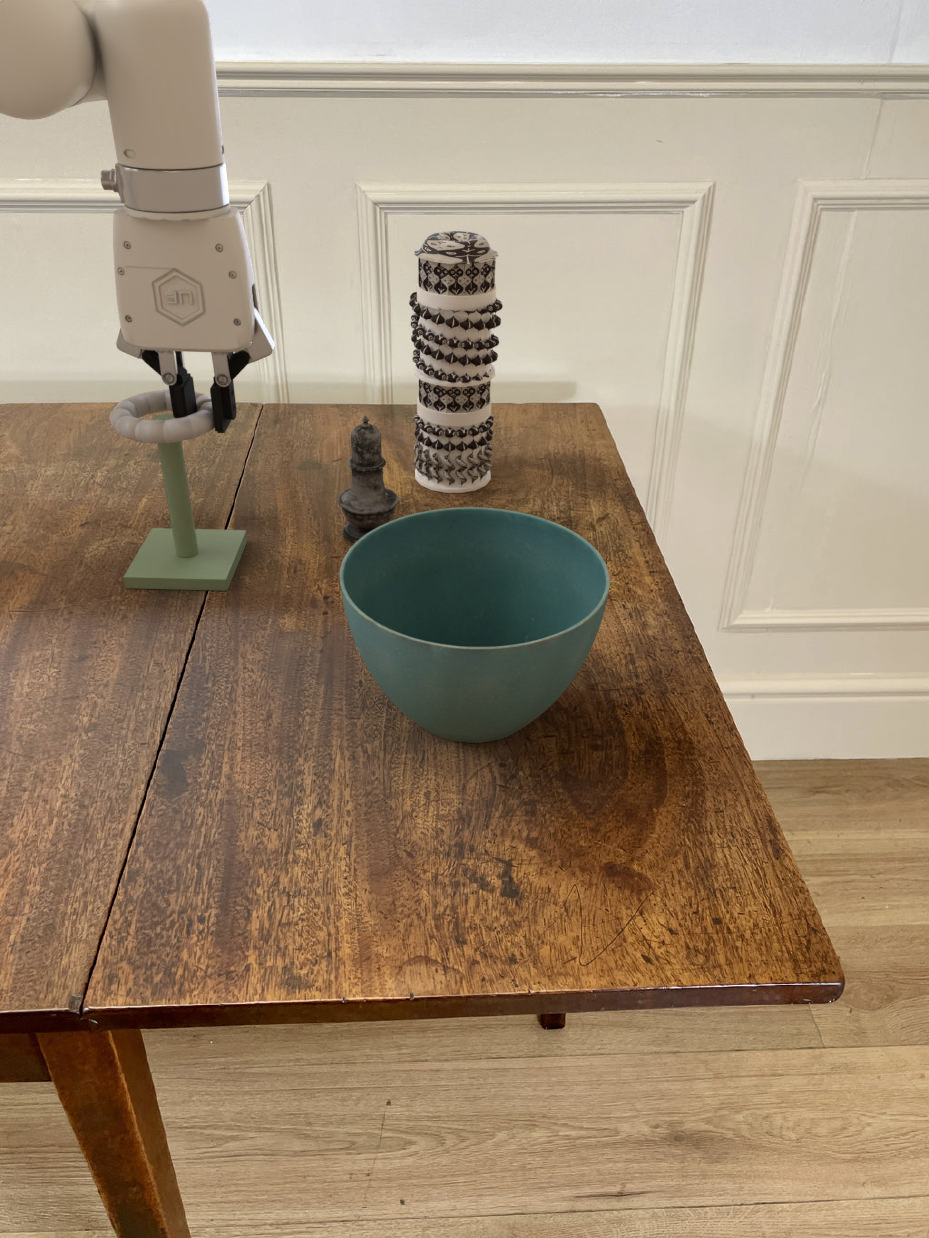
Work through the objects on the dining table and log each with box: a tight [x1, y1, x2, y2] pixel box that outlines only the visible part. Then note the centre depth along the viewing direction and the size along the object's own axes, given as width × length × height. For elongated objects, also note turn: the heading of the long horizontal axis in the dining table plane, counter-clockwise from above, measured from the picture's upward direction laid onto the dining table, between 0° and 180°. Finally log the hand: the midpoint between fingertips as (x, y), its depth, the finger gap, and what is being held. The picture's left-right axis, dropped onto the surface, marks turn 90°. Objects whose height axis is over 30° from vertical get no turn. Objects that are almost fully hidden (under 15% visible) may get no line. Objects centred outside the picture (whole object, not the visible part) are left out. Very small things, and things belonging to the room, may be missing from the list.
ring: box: [109, 388, 215, 444], centre depth 79 cm, size 9×9×2 cm
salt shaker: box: [337, 415, 399, 544], centre depth 89 cm, size 6×6×12 cm
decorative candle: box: [408, 230, 504, 494], centre depth 97 cm, size 9×9×25 cm
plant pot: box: [339, 506, 611, 744], centre depth 67 cm, size 18×18×12 cm
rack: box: [122, 413, 248, 592], centre depth 83 cm, size 9×9×14 cm
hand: (206, 424), depth 79 cm, fingers closed on ring, 2 cm apart
